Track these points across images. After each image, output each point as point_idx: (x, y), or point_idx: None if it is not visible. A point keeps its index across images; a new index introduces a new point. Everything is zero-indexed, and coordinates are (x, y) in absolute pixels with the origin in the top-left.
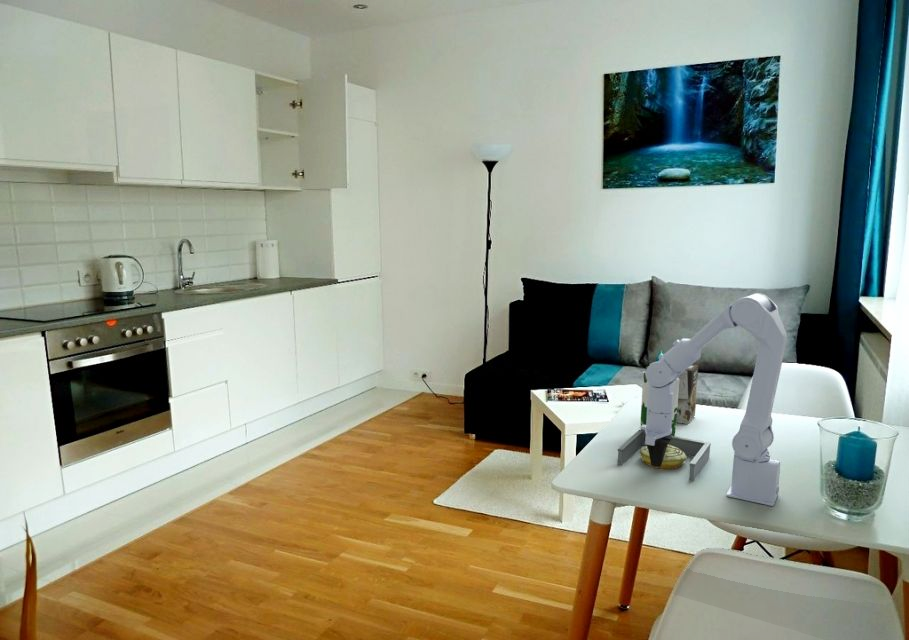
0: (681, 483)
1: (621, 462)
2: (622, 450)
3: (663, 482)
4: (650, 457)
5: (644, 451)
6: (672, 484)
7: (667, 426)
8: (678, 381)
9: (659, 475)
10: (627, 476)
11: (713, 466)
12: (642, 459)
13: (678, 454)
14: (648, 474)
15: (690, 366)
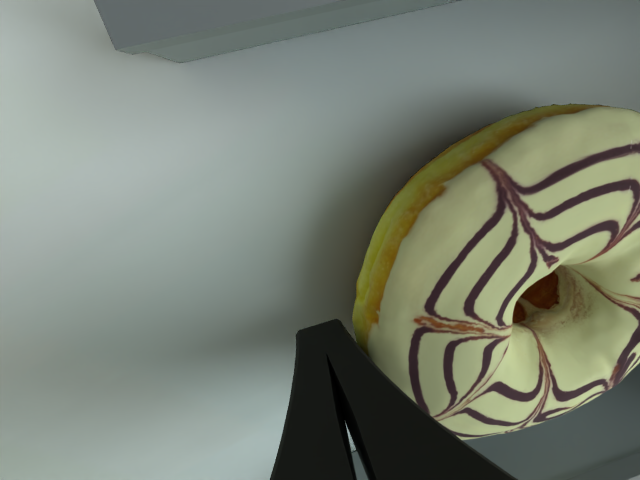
0: (256, 470)
1: (170, 59)
2: (122, 44)
3: (182, 433)
4: (292, 388)
5: (449, 230)
6: (202, 463)
7: None
8: None
9: (263, 367)
10: (11, 259)
11: None
12: (412, 177)
13: (516, 428)
14: (217, 325)
15: None
